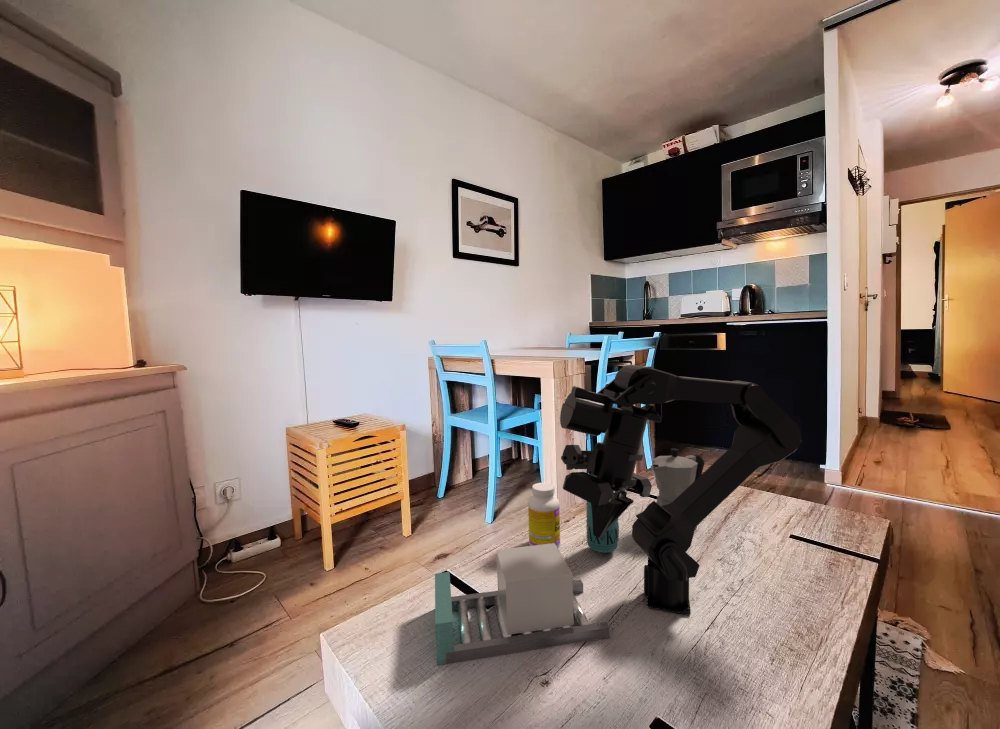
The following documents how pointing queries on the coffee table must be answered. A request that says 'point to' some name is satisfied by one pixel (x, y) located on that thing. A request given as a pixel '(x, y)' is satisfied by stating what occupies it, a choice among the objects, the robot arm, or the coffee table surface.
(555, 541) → the supplement bottle
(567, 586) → the off-white matte cube
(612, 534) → the beverage bottle
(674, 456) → the coffeepot
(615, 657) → the coffee table surface
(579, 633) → the roller bed
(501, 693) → the coffee table surface
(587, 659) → the coffee table surface
